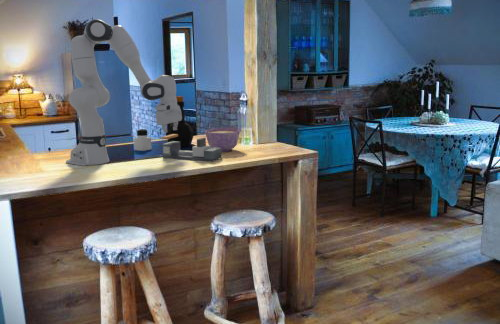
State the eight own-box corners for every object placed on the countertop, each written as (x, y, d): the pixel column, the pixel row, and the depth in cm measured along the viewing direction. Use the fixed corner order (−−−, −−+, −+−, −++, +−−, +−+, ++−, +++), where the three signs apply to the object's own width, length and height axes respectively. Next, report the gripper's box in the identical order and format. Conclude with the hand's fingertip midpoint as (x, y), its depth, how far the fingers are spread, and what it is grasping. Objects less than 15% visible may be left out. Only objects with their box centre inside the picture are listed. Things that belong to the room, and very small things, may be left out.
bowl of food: (247, 150, 281) (246, 130, 278) (216, 155, 270) (216, 134, 267) (228, 146, 297) (228, 127, 294) (199, 150, 286) (198, 130, 284)
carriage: (192, 156, 259) (192, 139, 257) (199, 153, 265) (198, 137, 263) (204, 157, 256) (203, 139, 254) (210, 154, 262) (210, 137, 260)
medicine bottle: (151, 149, 291) (150, 129, 288) (143, 151, 285) (141, 130, 282) (143, 148, 294) (141, 128, 292) (134, 150, 289) (133, 129, 286)
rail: (162, 157, 264) (161, 144, 263) (173, 154, 274) (172, 141, 272) (212, 161, 253) (211, 147, 251) (221, 157, 262) (220, 144, 260)
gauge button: (162, 139, 262) (162, 136, 262) (173, 136, 272) (173, 133, 271) (167, 139, 261) (167, 137, 260) (178, 136, 271) (178, 134, 270)
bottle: (182, 148, 290) (180, 97, 284) (161, 146, 299) (159, 96, 293) (199, 144, 303) (197, 95, 297) (178, 142, 312) (176, 95, 306)
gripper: (174, 103, 273) (175, 128, 276) (153, 107, 255) (154, 133, 258) (184, 103, 271) (185, 128, 274) (163, 107, 252) (165, 134, 255)
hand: (170, 131), depth 266 cm, fingers open, 8 cm apart
